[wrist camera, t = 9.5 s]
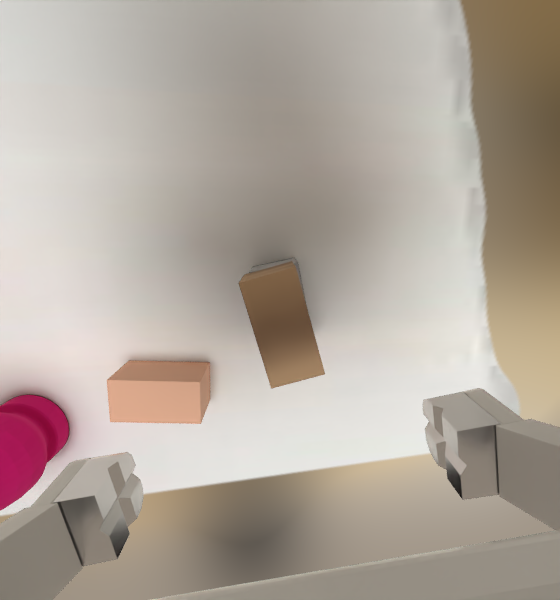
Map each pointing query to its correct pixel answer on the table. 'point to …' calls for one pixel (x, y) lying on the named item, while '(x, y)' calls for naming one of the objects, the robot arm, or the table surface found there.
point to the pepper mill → (27, 443)
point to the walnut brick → (281, 324)
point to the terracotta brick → (159, 392)
